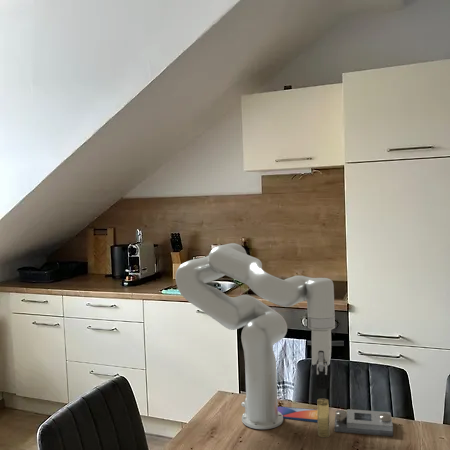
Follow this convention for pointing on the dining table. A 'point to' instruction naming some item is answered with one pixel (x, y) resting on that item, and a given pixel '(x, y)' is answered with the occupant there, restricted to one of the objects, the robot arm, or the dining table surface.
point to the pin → (323, 417)
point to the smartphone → (299, 414)
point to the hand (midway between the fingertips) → (323, 381)
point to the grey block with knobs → (364, 422)
